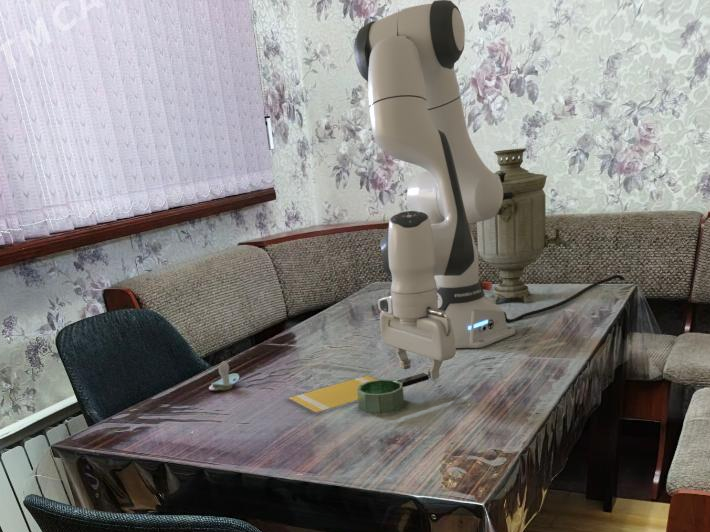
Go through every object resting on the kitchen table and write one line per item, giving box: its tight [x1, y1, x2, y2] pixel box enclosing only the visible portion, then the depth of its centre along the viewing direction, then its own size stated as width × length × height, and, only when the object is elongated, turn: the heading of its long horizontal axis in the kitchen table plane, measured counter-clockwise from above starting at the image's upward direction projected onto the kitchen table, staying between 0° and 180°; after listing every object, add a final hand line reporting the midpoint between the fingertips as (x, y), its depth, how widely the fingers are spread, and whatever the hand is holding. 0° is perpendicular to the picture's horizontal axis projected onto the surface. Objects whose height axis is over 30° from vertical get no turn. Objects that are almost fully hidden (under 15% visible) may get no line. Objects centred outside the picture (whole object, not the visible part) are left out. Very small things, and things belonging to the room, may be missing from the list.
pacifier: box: [208, 360, 240, 392], centre depth 160 cm, size 7×6×6 cm
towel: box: [288, 375, 378, 413], centre depth 151 cm, size 20×12×1 cm, turn 124°
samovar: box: [476, 147, 569, 305], centre depth 202 cm, size 30×26×40 cm
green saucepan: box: [357, 372, 430, 415], centre depth 143 cm, size 16×9×4 cm, turn 124°
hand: (419, 373), depth 144 cm, fingers open, 8 cm apart
